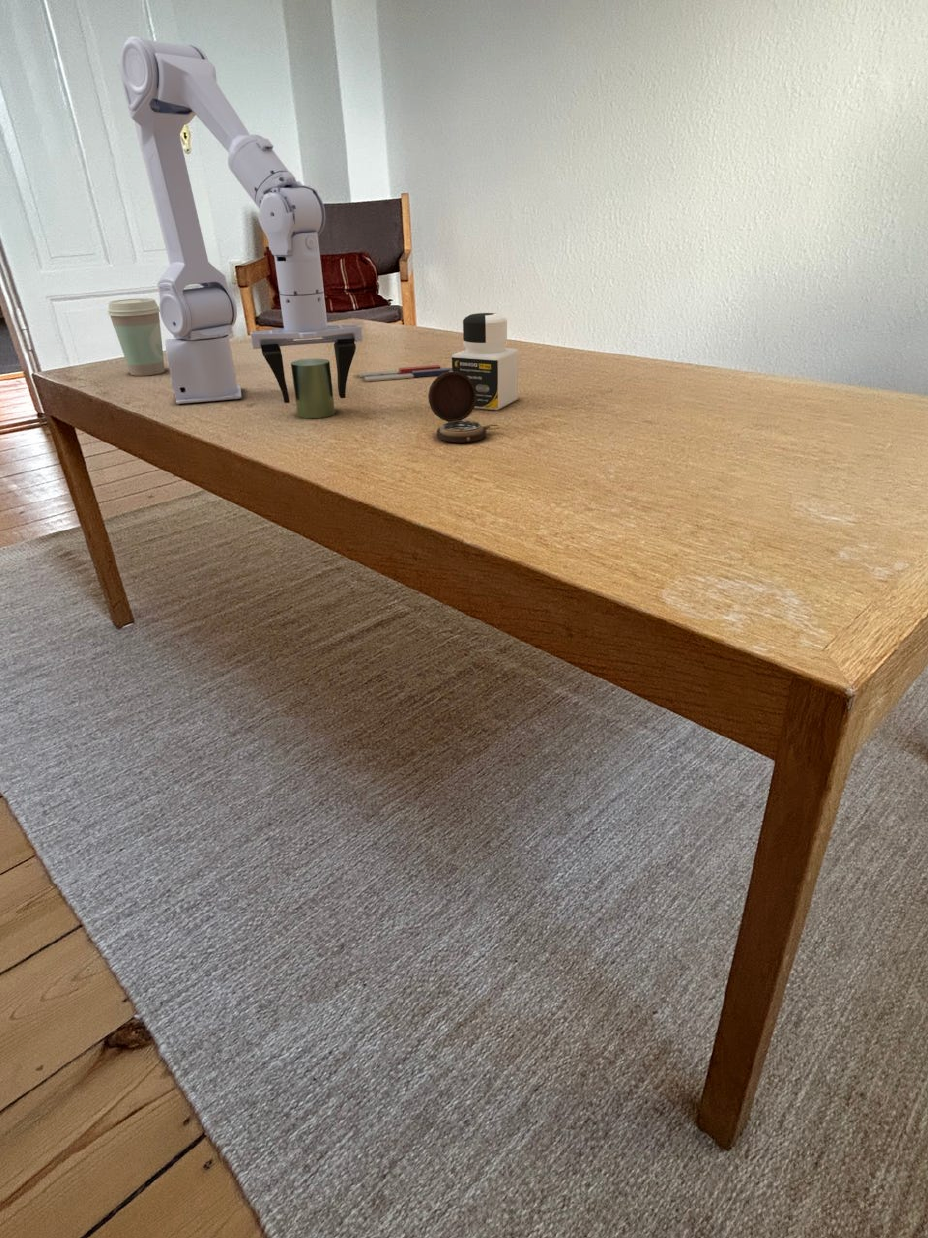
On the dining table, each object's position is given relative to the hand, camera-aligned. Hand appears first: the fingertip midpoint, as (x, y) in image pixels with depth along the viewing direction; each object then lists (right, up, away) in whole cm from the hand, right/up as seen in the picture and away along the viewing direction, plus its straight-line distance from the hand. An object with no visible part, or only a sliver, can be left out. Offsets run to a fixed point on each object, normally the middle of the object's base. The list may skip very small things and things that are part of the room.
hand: (314, 399), depth 104 cm
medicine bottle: (+24, 0, +4) cm, 24 cm away
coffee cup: (-36, +14, +31) cm, 49 cm away
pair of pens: (+10, +11, +24) cm, 29 cm away
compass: (+21, -8, -10) cm, 25 cm away
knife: (+12, +10, +21) cm, 26 cm away
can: (0, -2, +1) cm, 2 cm away
